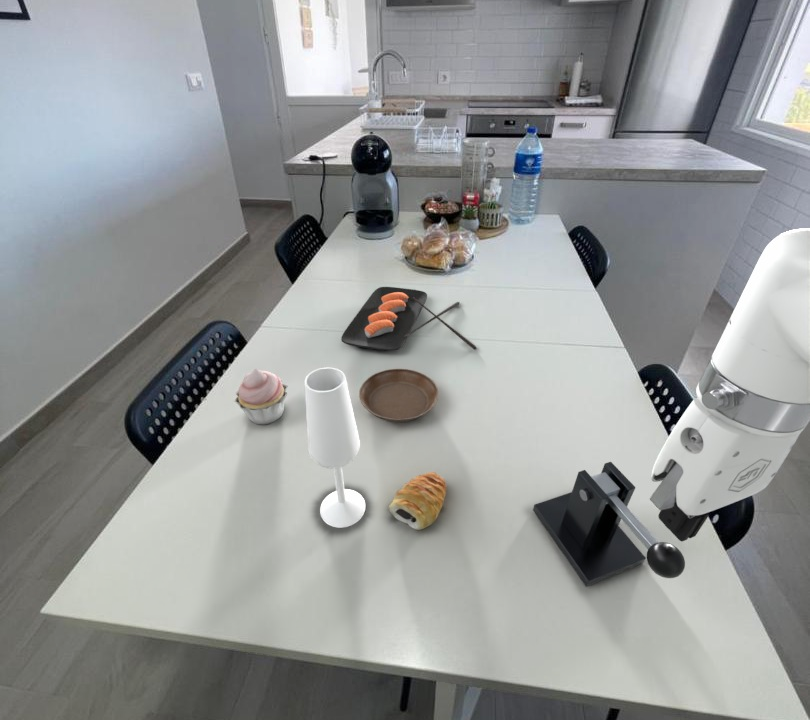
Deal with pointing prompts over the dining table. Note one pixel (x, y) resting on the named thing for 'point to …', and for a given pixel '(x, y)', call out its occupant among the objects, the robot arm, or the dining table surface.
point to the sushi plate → (390, 319)
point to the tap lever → (644, 534)
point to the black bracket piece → (591, 527)
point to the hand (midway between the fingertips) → (675, 527)
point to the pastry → (419, 501)
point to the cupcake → (262, 396)
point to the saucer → (398, 394)
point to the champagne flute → (333, 441)
